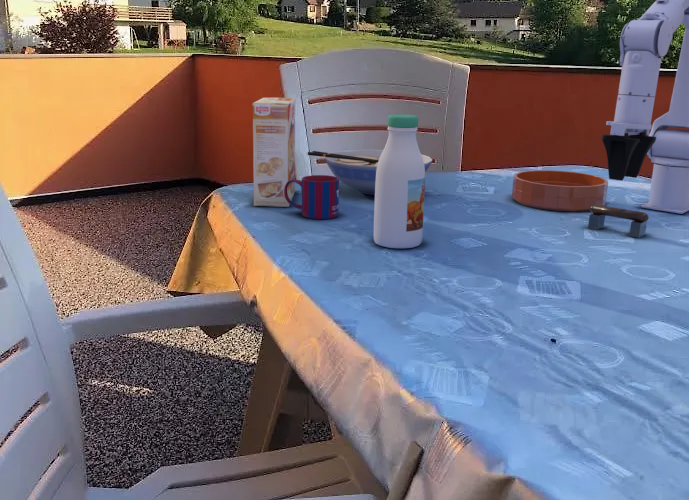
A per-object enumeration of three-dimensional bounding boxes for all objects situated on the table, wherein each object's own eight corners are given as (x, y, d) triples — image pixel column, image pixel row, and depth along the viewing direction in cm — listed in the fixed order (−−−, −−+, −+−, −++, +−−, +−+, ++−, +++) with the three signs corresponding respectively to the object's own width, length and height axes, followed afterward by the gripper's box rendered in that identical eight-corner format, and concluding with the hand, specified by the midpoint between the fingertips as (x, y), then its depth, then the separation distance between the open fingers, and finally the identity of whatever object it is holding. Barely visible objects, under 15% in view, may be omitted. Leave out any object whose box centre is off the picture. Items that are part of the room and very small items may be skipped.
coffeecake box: (289, 207, 135) (289, 103, 129) (252, 206, 135) (250, 102, 130) (296, 191, 149) (296, 97, 144) (262, 190, 149) (261, 96, 144)
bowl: (537, 189, 157) (539, 167, 155) (619, 202, 145) (622, 178, 144) (494, 201, 144) (496, 177, 142) (581, 217, 132) (584, 190, 130)
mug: (332, 220, 125) (333, 182, 124) (279, 216, 128) (279, 179, 126) (342, 212, 132) (343, 176, 130) (291, 208, 134) (291, 172, 132)
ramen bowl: (453, 190, 154) (455, 152, 152) (403, 209, 135) (405, 166, 133) (355, 177, 167) (356, 142, 164) (297, 193, 148) (297, 154, 146)
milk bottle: (389, 252, 107) (394, 118, 102) (364, 239, 114) (368, 113, 108) (431, 246, 111) (439, 117, 105) (405, 234, 117) (410, 112, 112)
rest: (587, 228, 124) (589, 214, 123) (594, 225, 126) (596, 211, 125) (638, 238, 118) (640, 223, 117) (645, 234, 120) (647, 220, 120)
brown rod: (587, 213, 124) (588, 204, 123) (591, 211, 125) (592, 203, 125) (645, 223, 118) (647, 214, 117) (649, 221, 119) (650, 212, 118)
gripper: (625, 95, 124) (613, 172, 127) (597, 93, 113) (584, 177, 116) (667, 98, 120) (654, 178, 123) (642, 95, 109) (628, 183, 112)
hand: (623, 178), depth 119 cm, fingers open, 7 cm apart
